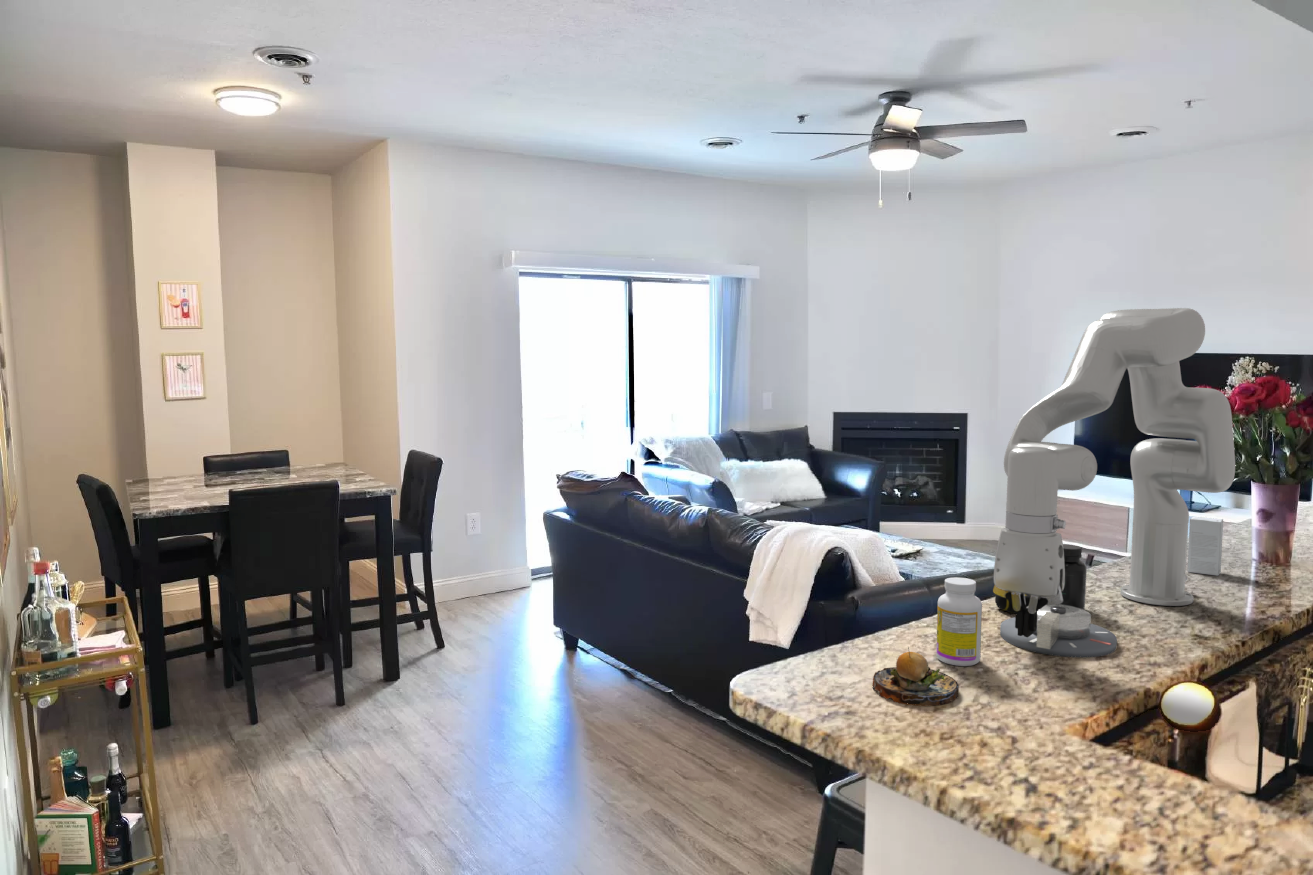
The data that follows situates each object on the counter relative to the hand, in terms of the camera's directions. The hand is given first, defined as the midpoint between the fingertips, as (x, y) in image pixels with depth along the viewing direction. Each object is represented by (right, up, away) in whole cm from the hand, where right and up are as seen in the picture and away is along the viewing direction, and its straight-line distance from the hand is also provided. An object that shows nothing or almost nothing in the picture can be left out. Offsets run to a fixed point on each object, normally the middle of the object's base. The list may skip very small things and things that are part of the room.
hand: (1025, 634), depth 146 cm
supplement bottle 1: (-12, -3, -4) cm, 14 cm away
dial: (+6, -1, +3) cm, 6 cm away
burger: (-23, -5, -17) cm, 29 cm away
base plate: (+8, -2, +6) cm, 10 cm away
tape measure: (+8, -1, +23) cm, 25 cm away
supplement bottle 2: (+17, -1, +24) cm, 30 cm away
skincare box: (+61, +2, +52) cm, 80 cm away
